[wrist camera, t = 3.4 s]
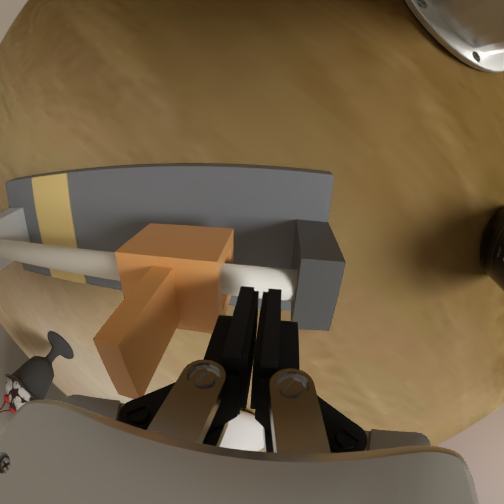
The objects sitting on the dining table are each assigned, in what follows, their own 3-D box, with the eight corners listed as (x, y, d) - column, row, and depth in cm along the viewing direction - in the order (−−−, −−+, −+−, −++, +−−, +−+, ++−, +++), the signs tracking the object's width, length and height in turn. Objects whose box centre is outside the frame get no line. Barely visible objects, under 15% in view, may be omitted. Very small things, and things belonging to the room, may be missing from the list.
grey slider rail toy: (329, 171, 17) (367, 206, 9) (311, 300, 21) (319, 387, 13) (15, 178, 19) (-45, 204, 11) (32, 263, 23) (-16, 302, 16)
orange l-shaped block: (233, 228, 15) (176, 348, 7) (233, 290, 16) (193, 420, 8) (150, 223, 15) (47, 313, 7) (157, 281, 17) (84, 386, 9)
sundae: (38, 331, 29) (-17, 398, 15) (54, 322, 27) (-11, 400, 13) (66, 364, 31) (19, 434, 18) (85, 359, 29) (33, 442, 16)
